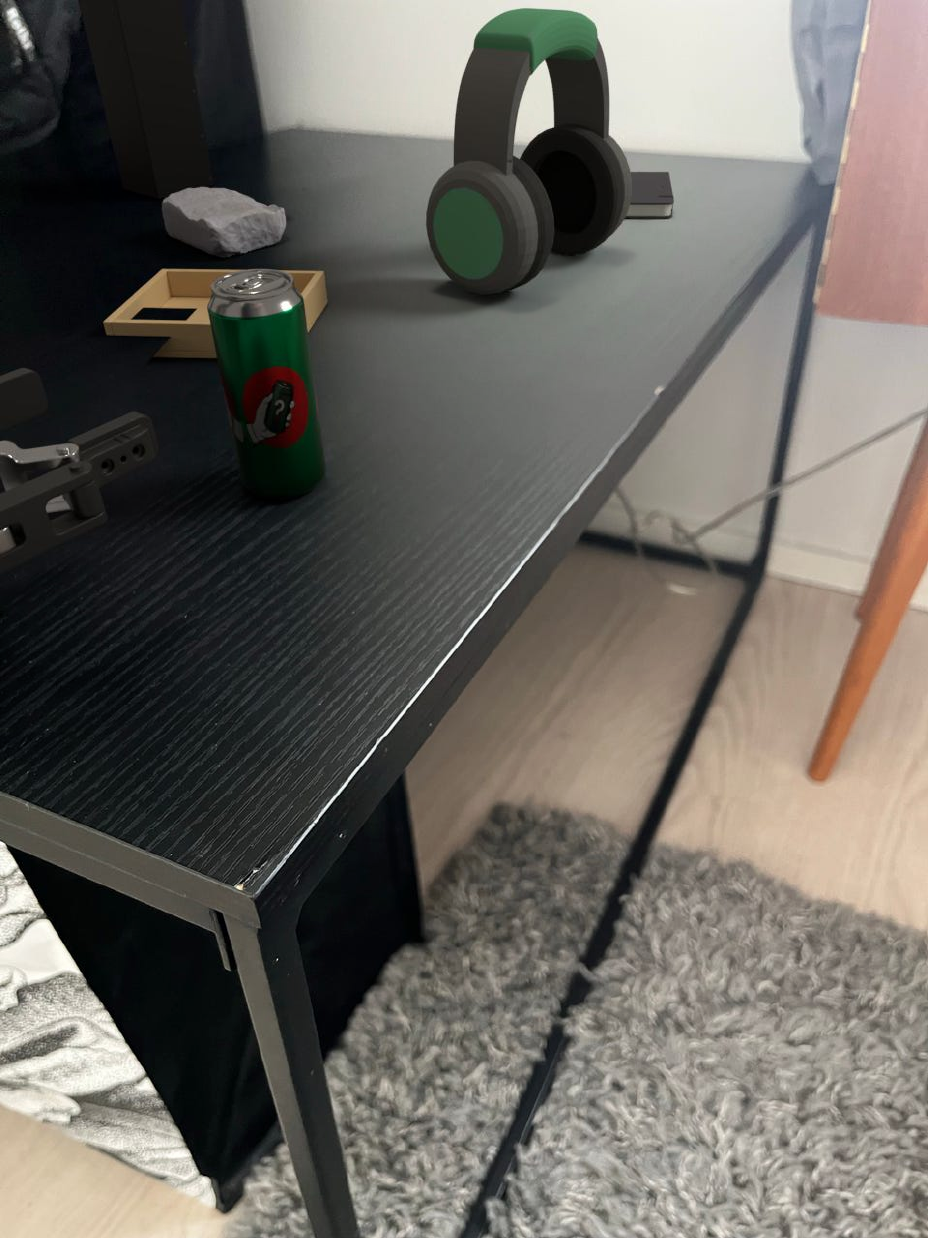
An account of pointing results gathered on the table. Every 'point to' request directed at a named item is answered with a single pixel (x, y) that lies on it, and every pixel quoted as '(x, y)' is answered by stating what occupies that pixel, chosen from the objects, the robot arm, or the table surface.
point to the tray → (195, 293)
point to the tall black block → (148, 94)
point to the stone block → (222, 221)
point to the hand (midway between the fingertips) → (92, 409)
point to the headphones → (528, 156)
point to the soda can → (268, 381)
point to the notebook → (650, 195)
